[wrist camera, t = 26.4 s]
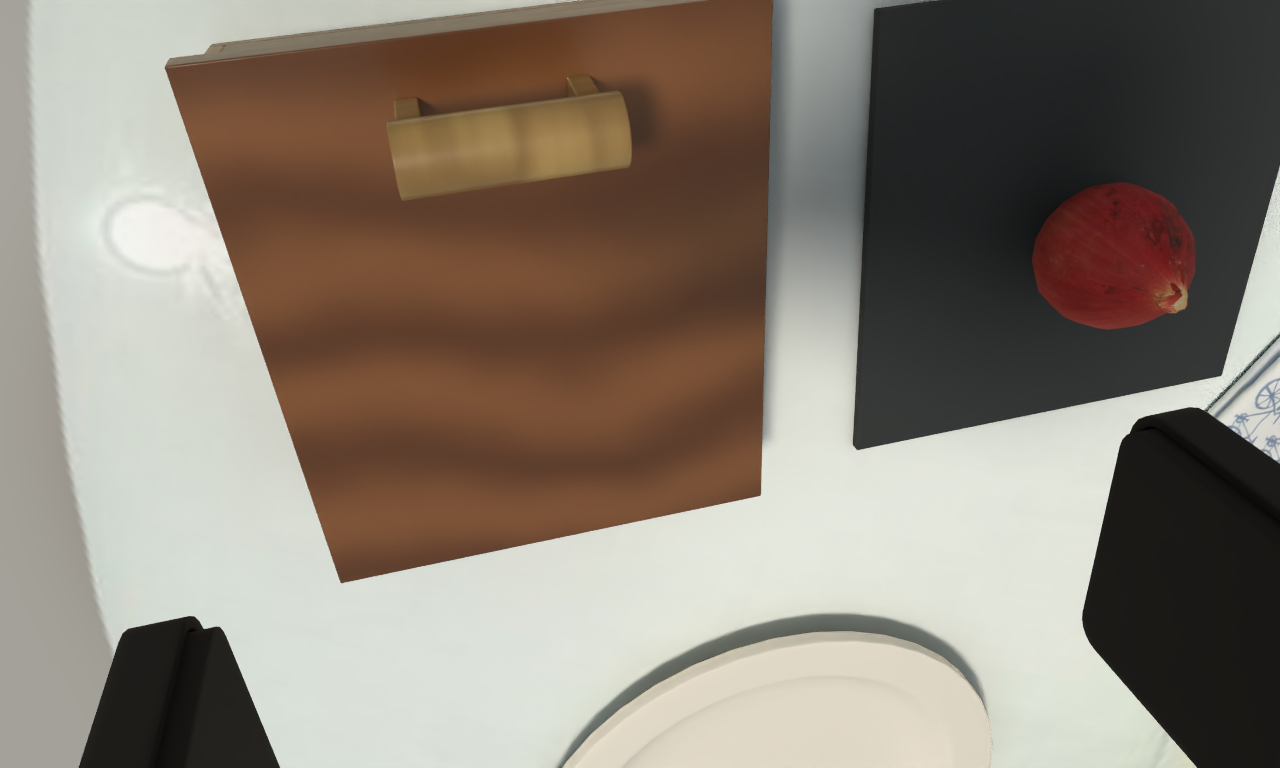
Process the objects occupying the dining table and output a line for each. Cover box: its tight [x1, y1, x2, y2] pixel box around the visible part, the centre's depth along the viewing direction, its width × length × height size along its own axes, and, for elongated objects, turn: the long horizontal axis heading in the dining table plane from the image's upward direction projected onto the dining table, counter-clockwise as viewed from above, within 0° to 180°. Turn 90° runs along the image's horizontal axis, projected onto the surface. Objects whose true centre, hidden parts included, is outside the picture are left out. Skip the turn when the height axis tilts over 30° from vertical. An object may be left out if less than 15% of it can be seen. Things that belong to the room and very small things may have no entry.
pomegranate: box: [1032, 182, 1195, 330], centre depth 39 cm, size 6×6×8 cm
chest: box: [205, 0, 652, 54], centre depth 36 cm, size 19×17×4 cm
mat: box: [853, 0, 1280, 450], centre depth 43 cm, size 20×20×1 cm
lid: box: [165, 0, 773, 583], centre depth 31 cm, size 20×17×6 cm
